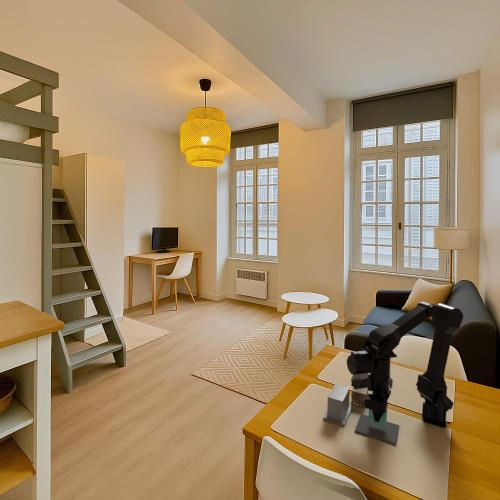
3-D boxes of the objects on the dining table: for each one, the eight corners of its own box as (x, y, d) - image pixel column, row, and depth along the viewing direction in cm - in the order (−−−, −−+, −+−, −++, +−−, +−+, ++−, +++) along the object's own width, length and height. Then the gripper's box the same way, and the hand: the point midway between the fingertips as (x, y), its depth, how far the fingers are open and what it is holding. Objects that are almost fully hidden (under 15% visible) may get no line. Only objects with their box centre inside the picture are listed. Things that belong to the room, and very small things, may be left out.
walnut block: (367, 400, 118) (368, 388, 117) (365, 407, 114) (365, 394, 113) (354, 397, 120) (354, 384, 120) (351, 403, 116) (351, 390, 116)
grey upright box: (352, 407, 113) (353, 386, 113) (344, 426, 103) (345, 403, 102) (332, 402, 117) (333, 381, 116) (323, 419, 107) (323, 397, 106)
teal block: (387, 418, 103) (387, 403, 102) (385, 427, 98) (385, 411, 98) (370, 413, 105) (371, 399, 104) (368, 421, 101) (368, 407, 100)
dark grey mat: (399, 426, 103) (399, 425, 103) (396, 445, 95) (396, 443, 94) (360, 415, 109) (360, 413, 109) (354, 431, 100) (354, 430, 100)
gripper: (359, 354, 112) (357, 396, 114) (347, 376, 96) (345, 425, 97) (393, 361, 106) (391, 405, 108) (386, 386, 90) (384, 437, 92)
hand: (378, 417), depth 101 cm, fingers closed on teal block, 5 cm apart
